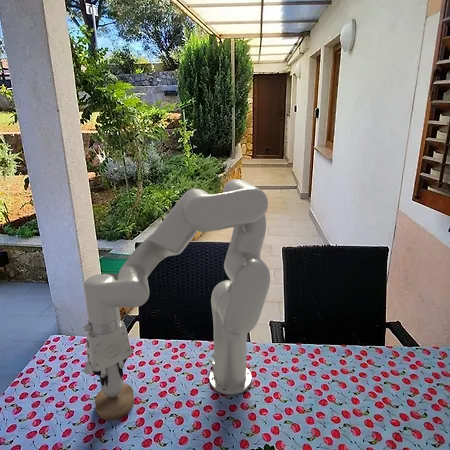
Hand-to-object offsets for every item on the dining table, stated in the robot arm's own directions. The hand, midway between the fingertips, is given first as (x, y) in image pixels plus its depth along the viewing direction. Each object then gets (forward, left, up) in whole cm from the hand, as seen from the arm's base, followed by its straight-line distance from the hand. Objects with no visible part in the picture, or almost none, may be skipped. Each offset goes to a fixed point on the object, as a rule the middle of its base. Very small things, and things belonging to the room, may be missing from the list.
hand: (112, 381), depth 91 cm
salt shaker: (0, 0, -3) cm, 3 cm away
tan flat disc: (0, 0, -8) cm, 8 cm away
